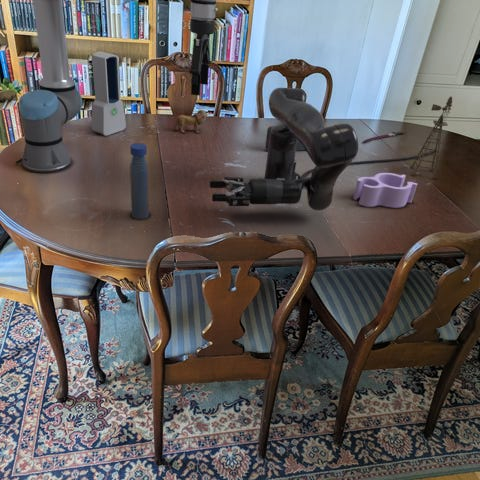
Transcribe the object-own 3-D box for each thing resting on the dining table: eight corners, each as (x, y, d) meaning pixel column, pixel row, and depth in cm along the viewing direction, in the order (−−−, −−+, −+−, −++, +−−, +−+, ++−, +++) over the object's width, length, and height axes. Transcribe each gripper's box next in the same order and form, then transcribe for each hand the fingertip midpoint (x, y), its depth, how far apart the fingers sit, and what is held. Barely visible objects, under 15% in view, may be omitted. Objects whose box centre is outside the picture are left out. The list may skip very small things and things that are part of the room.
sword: (401, 131, 224) (402, 128, 223) (406, 133, 222) (407, 131, 221) (358, 142, 208) (358, 140, 207) (363, 145, 206) (363, 142, 205)
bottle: (141, 221, 134) (139, 152, 123) (128, 215, 136) (125, 147, 125) (152, 214, 138) (151, 147, 126) (139, 209, 140) (137, 142, 128)
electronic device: (104, 136, 184) (98, 57, 168) (90, 131, 187) (84, 53, 171) (126, 129, 193) (123, 53, 177) (113, 124, 196) (109, 49, 180)
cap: (139, 157, 124) (139, 150, 123) (127, 153, 126) (127, 146, 125) (149, 153, 127) (149, 146, 126) (137, 149, 129) (137, 141, 128)
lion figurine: (203, 128, 203) (204, 107, 198) (207, 132, 199) (208, 111, 194) (170, 129, 198) (170, 108, 193) (173, 133, 194) (173, 112, 189)
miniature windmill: (435, 179, 179) (462, 101, 163) (413, 175, 180) (438, 97, 164) (432, 170, 187) (457, 94, 170) (410, 166, 188) (434, 91, 171)
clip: (365, 210, 152) (371, 191, 148) (346, 193, 162) (351, 174, 158) (416, 205, 158) (422, 187, 155) (395, 189, 168) (400, 171, 164)
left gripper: (207, 26, 131) (203, 101, 142) (221, 15, 152) (217, 81, 163) (181, 22, 131) (179, 98, 143) (198, 12, 152) (196, 78, 164)
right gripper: (262, 170, 142) (209, 168, 140) (271, 191, 130) (214, 190, 128) (259, 192, 146) (208, 191, 144) (268, 214, 134) (212, 214, 132)
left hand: (199, 89), depth 153 cm, fingers open, 13 cm apart
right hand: (211, 190), depth 136 cm, fingers open, 8 cm apart
